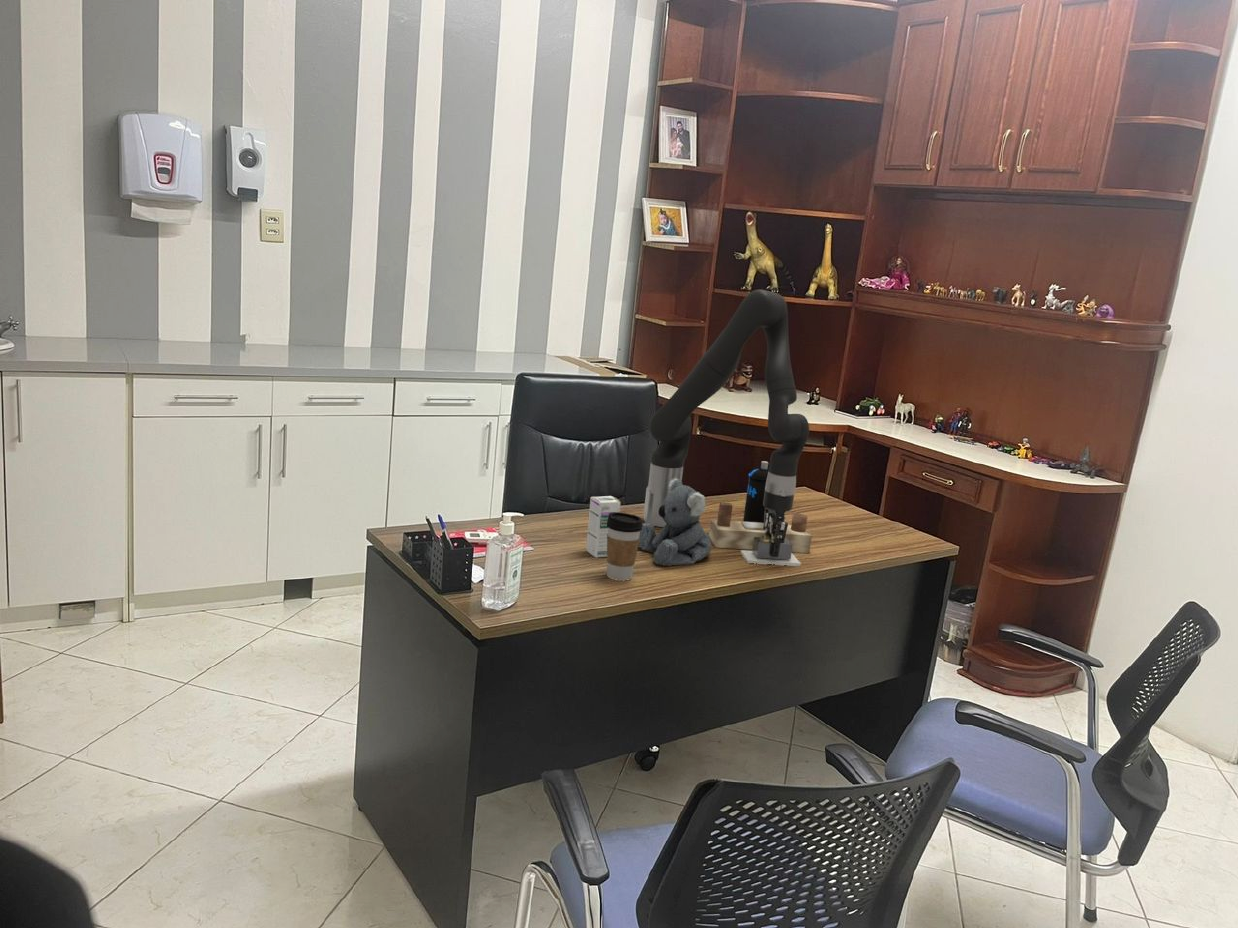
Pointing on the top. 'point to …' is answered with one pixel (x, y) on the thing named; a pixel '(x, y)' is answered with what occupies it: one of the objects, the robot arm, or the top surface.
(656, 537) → the koala plush
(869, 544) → the top surface
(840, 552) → the top surface
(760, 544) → the lever cap
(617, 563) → the coffee cup
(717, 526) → the hand plane
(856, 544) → the top surface
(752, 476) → the aerosol can
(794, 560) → the rubber mat
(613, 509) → the syrup box
